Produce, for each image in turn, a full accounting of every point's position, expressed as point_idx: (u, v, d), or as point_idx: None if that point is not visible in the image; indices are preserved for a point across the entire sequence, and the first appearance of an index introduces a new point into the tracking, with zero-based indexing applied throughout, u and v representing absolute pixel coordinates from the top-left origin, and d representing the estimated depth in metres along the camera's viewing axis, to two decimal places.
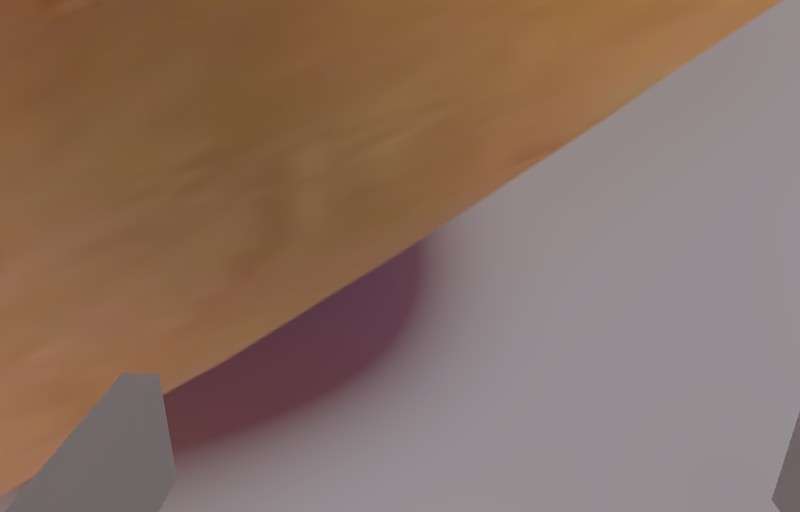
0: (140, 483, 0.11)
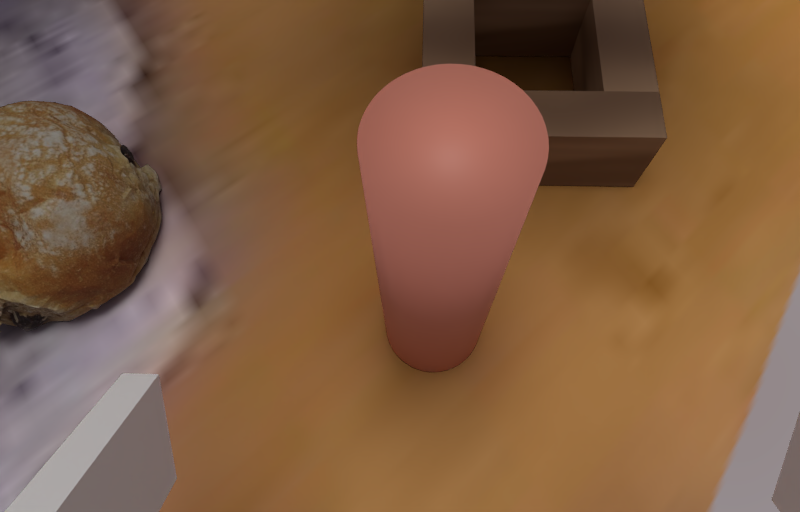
0: (140, 483, 0.11)
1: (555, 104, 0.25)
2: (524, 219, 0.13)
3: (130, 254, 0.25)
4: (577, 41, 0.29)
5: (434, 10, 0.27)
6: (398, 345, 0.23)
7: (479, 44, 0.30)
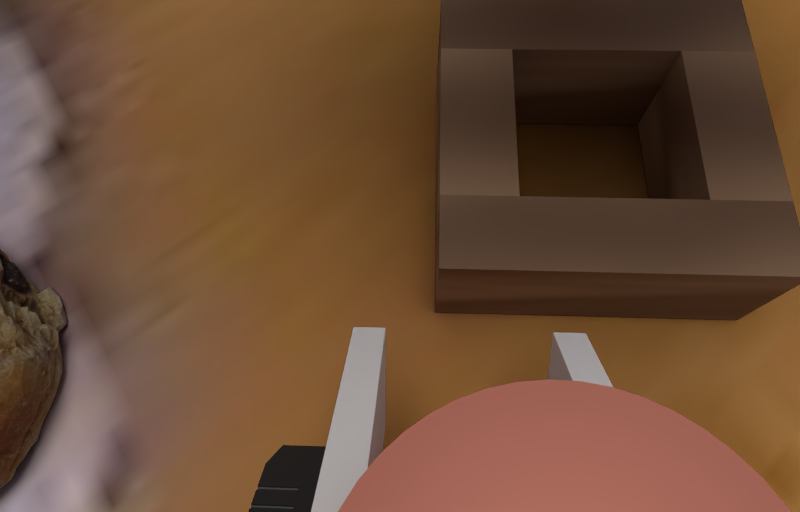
0: (381, 419, 0.13)
1: (638, 221, 0.16)
2: None
3: (1, 447, 0.17)
4: (651, 108, 0.21)
5: (456, 72, 0.19)
6: None
7: (515, 110, 0.22)
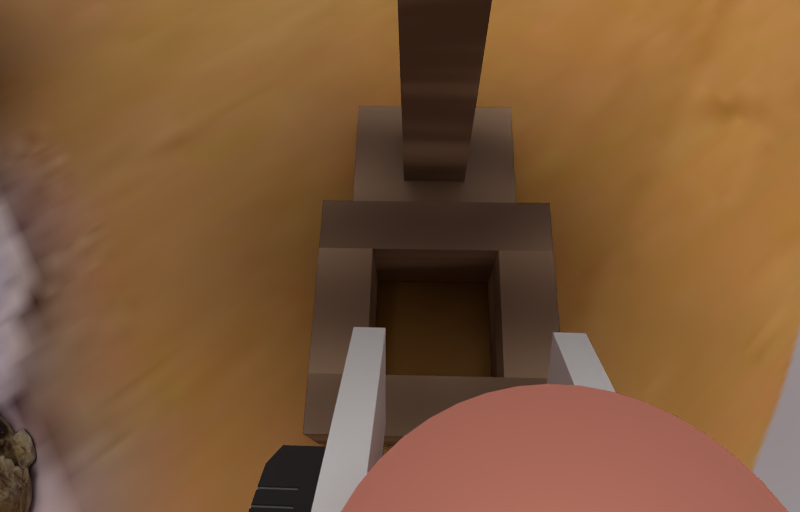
0: (381, 418, 0.13)
1: (450, 395, 0.23)
2: None
3: None
4: (491, 278, 0.27)
5: (329, 268, 0.25)
6: None
7: (389, 275, 0.28)
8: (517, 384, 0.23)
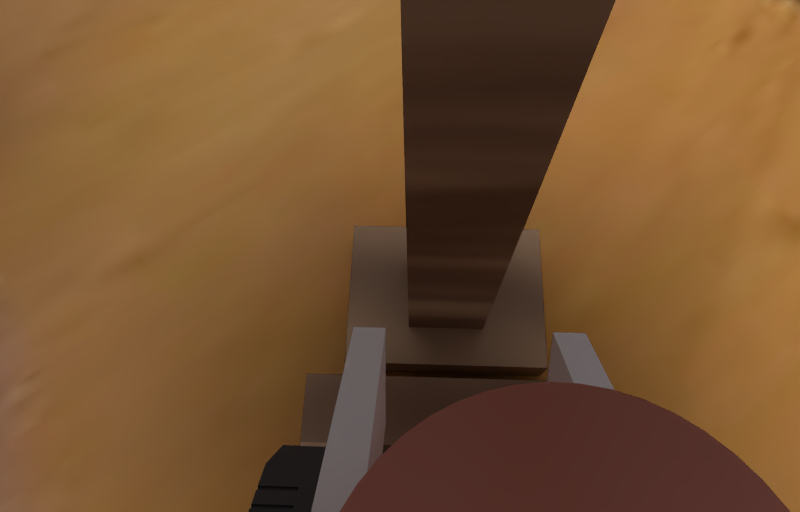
0: (381, 419, 0.13)
1: None
2: None
3: None
4: None
5: None
6: None
7: None
8: None
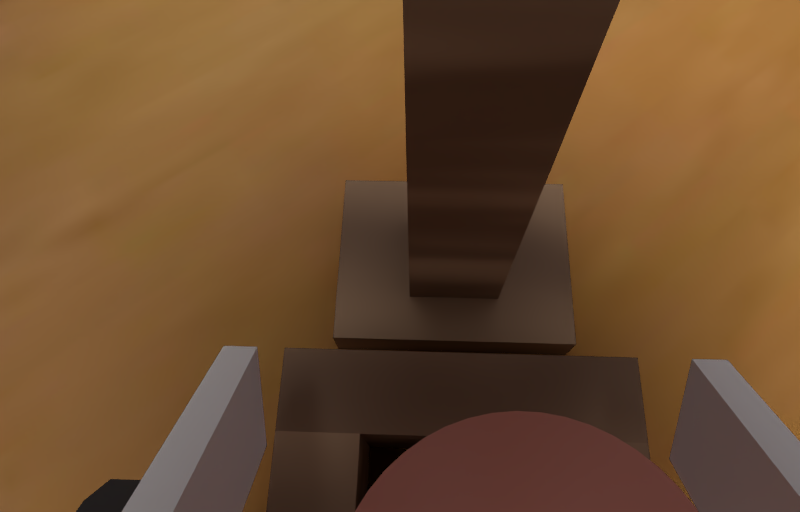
0: (246, 445, 0.12)
1: None
2: None
3: None
4: None
5: (290, 468, 0.16)
6: None
7: (386, 444, 0.19)
8: None
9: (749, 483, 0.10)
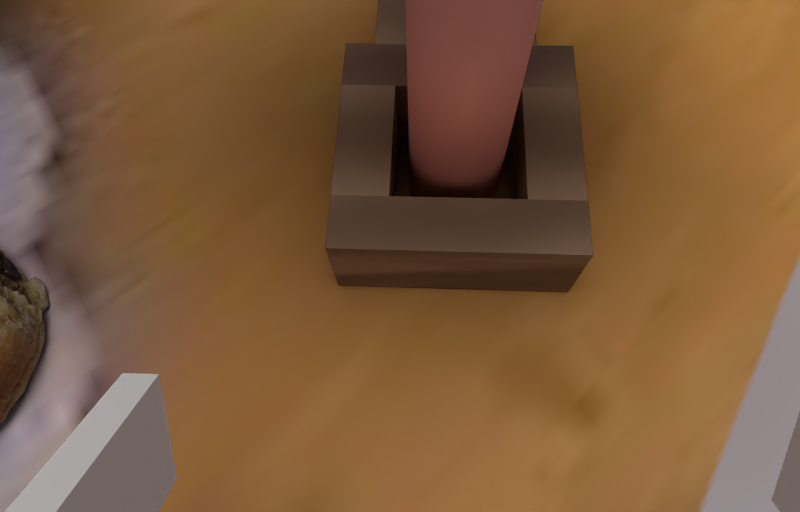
0: (140, 483, 0.11)
1: (473, 214, 0.23)
2: None
3: None
4: (513, 129, 0.27)
5: (351, 103, 0.25)
6: (422, 193, 0.25)
7: None
8: (541, 205, 0.23)
9: None
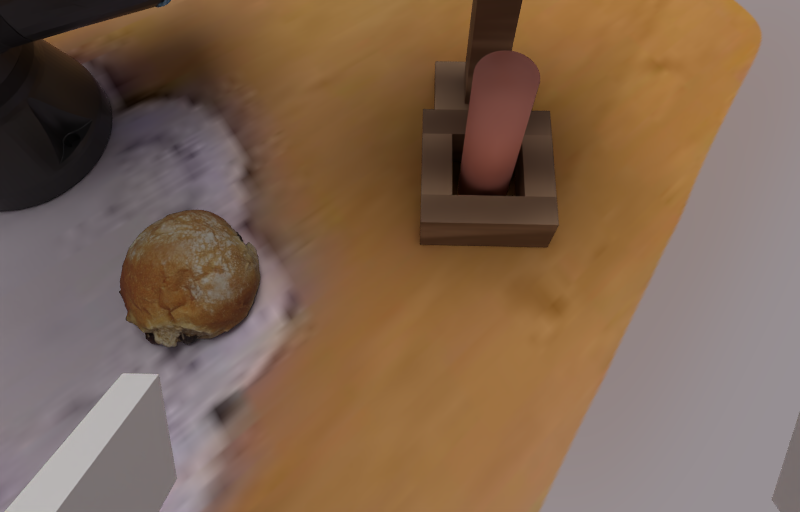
0: (140, 483, 0.11)
1: (496, 204, 0.43)
2: (531, 107, 0.36)
3: (248, 300, 0.43)
4: None
5: (428, 143, 0.45)
6: (467, 193, 0.46)
7: (457, 156, 0.49)
8: (532, 199, 0.43)
9: None
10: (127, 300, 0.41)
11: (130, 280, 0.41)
